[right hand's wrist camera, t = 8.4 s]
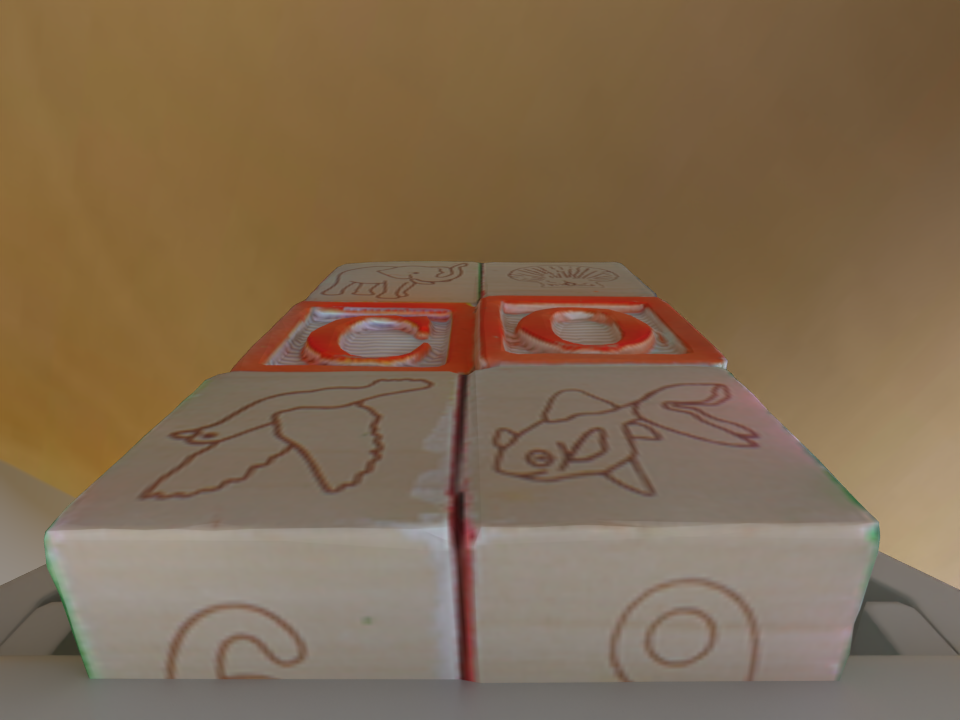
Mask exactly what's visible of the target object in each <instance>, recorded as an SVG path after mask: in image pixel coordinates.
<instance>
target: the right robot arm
mask: <svg viewBox="0 0 960 720" xmlns="http://www.w3.org/2000/svg"><path fill="white" fill-rule="evenodd" d="M0 720H960V590H959V589H957V588H955V587H953V586H950V585H948V584H946V583H944V582H942V581H940V580H938V579H936V578H934V577H932V576H930V575H927V574H925V573H923V572H921V571H919V570H917V569H915V568H913V567H911V566H909V565H907V564H905V563H902V562H900V561H898V560H896V559H894V558H892V557H890V556H888V555H886V554H884V553H882V552H880V551H878V554H877V557H876V560H875V563H874V566H873V569H872V572H871V575H870V579H869V582H868V585H867V588H866V592H865V595H864V598H863V602H862V605H861V608H860V611H859V613H858V616H857V618H856V620H855V622H854V627H853V634H852V641H851V648H850V655H849V657H848V660H847V662H846V665H845V667H844V670H843V673H842V675H841V678H840V680H839V681H702V682H577V683H477V682H472V681H466V680H461V679H90V678H89V677H88V674H87V672H86V669H85V666H84V663H83V661H82V658H81V655H80V652H79V649H78V647H77V644H76V641H75V638H74V635H73V632H72V629H71V627H70V624H69V621H68V618H67V615H66V612H65V609H64V606H63V604H62V601H61V598H60V595H59V593H58V591H57V588H56V586H55V584H54V582H53V580H52V577H51V575H50V573H49V571H48V569H47V564H45V565H43V566H41V567H39V568H37V569H35V570H33V571H31V572H28V573H26V574H24V575H22V576H20V577H18V578H16V579H14V580H12V581H10V582H7V583H5V584H3V585H1V586H0Z"/></svg>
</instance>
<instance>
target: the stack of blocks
mask: <svg viewBox="0 0 960 720" xmlns="http://www.w3.org/2000/svg"><path fill="white" fill-rule="evenodd" d="M727 361H728V360H727V359H726V358H725V357H724V356H723V355H722V353H721V352H720V351H719V350H718V349H717V348H716V347H714V346H713V345H712V344H711V343H710V342H709V341H708V340H707V339H706V338H705V337H704V336H703V335H702V334H701V333H700V332H699V331H698V330H696V329H695V328H694V327H693V326H692V325H691V324H690V323H689V322H688V321H687V320H686V319H684V318H683V317H682V316H681V315H680V314H679V313H678V312H677V311H675V310H674V309H673V308H672V307H671V306H670V305H669V304H668V303H667V302H666V301H664V300H662V299H660V298H658V297H657V296H656V294H655V293H654V292H653V291H652V290H651V289H650V288H648V287H647V286H646V285H645V284H644V283H642V282H641V281H640V280H639V278H637V277H636V276H635V275H633V274H632V273H631V272H630V271H629V270H628V269H627V268H626V267H625V266H623V265H622V264H621V263H618V262H492V263H477V262H453V261H400V262H368V263H353V264H344V265H342V266H339V267H337V268H336V269H335V270H334V271H333V272H332V273H330V274H329V275H328V276H327V277H326V278H325V279H324V280H323V281H322V282H321V283H320V284H319V286H318V287H317V288H316V289H315V290H314V291H313V292H312V293H311V294H310V296H309V297H308V298H307V299H306V300H305V301H302V302H300V303H298V304H296V305H295V306H293V307H292V308H291V309H290V310H289V311H288V313H287V314H285V315H284V316H283V317H282V318H281V319H280V320H279V321H278V322H277V323H276V324H275V325H274V326H273V327H272V328H271V329H270V330H269V331H268V332H267V333H266V334H265V335H264V336H263V337H262V338H261V339H259V340H258V341H257V342H256V343H255V344H254V345H253V346H252V347H251V348H250V349H249V350H248V352H247V353H246V354H245V355H244V356H243V357H242V358H241V359H240V360H239V361H238V363H237V364H236V365H235V366H234V367H233V368H232V370H231V372H230V373H224V374H219V375H216V376H214V377H212V378H209V379H207V380H205V381H204V382H203V383H202V384H201V385H200V386H199V387H198V388H197V389H196V390H195V391H194V392H193V393H192V394H191V395H190V396H188V397H187V398H186V399H185V400H184V401H183V402H182V403H181V404H180V405H179V406H178V407H177V408H176V409H175V410H174V411H172V412H171V413H170V414H169V415H168V416H167V417H165V418H164V419H163V420H162V421H161V422H160V423H159V424H158V425H156V426H155V427H154V428H153V429H152V430H151V431H150V432H148V433H147V434H146V435H145V436H144V437H143V438H142V439H141V440H140V441H139V442H138V443H137V444H135V445H134V446H133V447H132V448H131V449H130V450H129V451H128V452H127V453H126V454H125V455H124V456H123V457H122V458H121V459H120V460H118V461H117V462H116V463H115V464H114V465H113V466H112V467H111V468H110V469H108V470H107V471H106V472H105V473H104V474H103V475H102V476H101V477H100V478H98V479H97V480H96V481H95V482H94V483H93V484H92V485H91V486H89V487H88V488H87V489H86V490H85V491H84V492H83V493H82V494H81V495H79V496H78V497H77V498H76V499H75V500H74V501H73V502H72V503H71V504H69V505H68V506H67V507H66V508H65V509H64V511H63V512H62V513H61V514H60V515H59V516H58V518H57V519H56V520H55V521H54V522H53V523H52V525H51V526H50V527H49V528H48V529H47V531H46V532H45V537H44V546H45V555H46V564H47V569H48V571H49V573H50V575H51V577H52V580H53V582H54V584H55V586H56V588H57V591H58V593H59V595H60V598H61V601H62V604H63V606H64V609H65V612H66V615H67V618H68V621H69V624H70V627H71V629H72V632H73V635H74V638H75V641H76V644H77V647H78V649H79V652H80V655H81V658H82V661H83V663H84V666H85V669H86V672H87V674H88V677H89V678H90V679H461V680H466V681H472V682H477V683H577V682H702V681H839V680H840V678H841V675H842V673H843V670H844V667H845V665H846V662H847V660H848V657H849V655H850V648H851V641H852V634H853V627H854V622H855V620H856V618H857V616H858V613H859V611H860V608H861V605H862V602H863V598H864V595H865V592H866V588H867V585H868V582H869V579H870V575H871V572H872V569H873V566H874V563H875V560H876V557H877V554H878V549H879V541H880V530H879V522H878V521H877V520H876V519H875V518H874V517H873V516H872V515H871V514H870V513H869V512H868V511H867V510H866V509H865V508H864V507H863V506H862V505H861V504H860V503H859V502H858V501H857V500H856V499H855V498H854V497H853V496H852V495H851V494H850V493H849V492H848V491H847V489H846V488H845V487H844V486H843V485H842V484H841V483H840V482H839V481H838V480H837V479H836V478H835V477H834V476H833V475H832V474H831V473H830V471H829V470H828V469H827V468H826V467H825V466H824V465H823V464H822V463H821V462H820V461H819V460H818V459H817V458H816V457H815V456H814V455H813V454H812V453H811V452H810V451H809V450H808V449H807V448H806V447H805V446H804V445H803V444H802V443H801V442H800V441H799V440H798V439H797V438H796V437H795V436H794V435H793V434H792V433H791V432H790V431H789V430H788V429H787V428H786V427H784V426H783V425H782V424H781V423H780V422H779V421H778V420H777V419H776V418H775V417H774V416H773V415H772V414H771V413H770V412H769V411H768V410H767V409H766V408H765V407H764V405H763V404H762V403H761V402H760V401H759V400H758V399H757V398H756V397H755V396H754V394H752V393H751V392H750V391H749V390H748V389H747V388H746V387H745V386H744V385H743V384H741V383H740V382H739V381H737V380H736V379H735V378H734V376H733V375H732V374H731V373H730V372H729V371H727V370H726V369H727Z"/></svg>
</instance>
